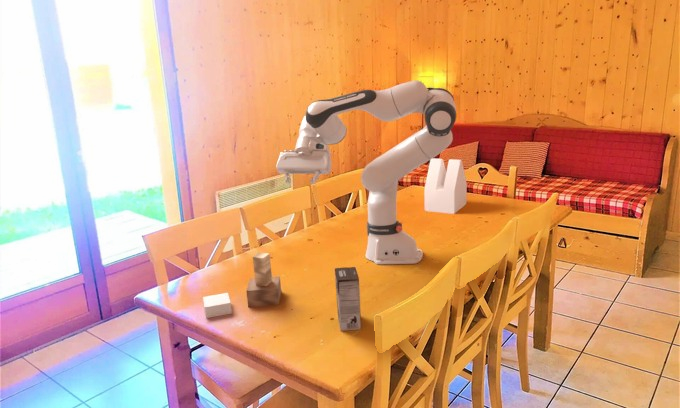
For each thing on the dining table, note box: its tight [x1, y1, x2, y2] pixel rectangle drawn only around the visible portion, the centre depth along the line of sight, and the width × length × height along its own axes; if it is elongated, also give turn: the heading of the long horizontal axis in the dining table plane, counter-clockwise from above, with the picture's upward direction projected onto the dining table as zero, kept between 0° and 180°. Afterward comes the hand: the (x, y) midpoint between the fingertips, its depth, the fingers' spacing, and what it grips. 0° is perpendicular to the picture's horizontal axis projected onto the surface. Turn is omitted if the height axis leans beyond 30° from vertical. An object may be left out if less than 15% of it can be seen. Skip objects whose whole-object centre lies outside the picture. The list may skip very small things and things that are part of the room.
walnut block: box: [246, 275, 282, 308], centre depth 173 cm, size 10×10×6 cm
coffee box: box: [334, 266, 362, 332], centre depth 153 cm, size 9×6×16 cm
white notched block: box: [423, 157, 468, 215], centre depth 264 cm, size 19×15×25 cm
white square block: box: [202, 292, 233, 319], centre depth 168 cm, size 8×8×4 cm
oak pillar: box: [252, 252, 273, 287], centre depth 171 cm, size 4×4×10 cm
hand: (300, 182), depth 185 cm, fingers open, 8 cm apart
